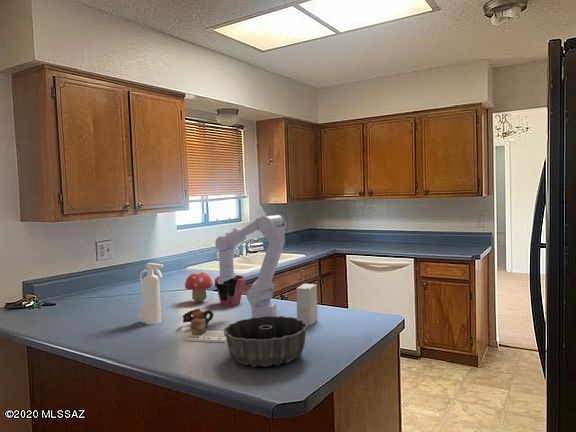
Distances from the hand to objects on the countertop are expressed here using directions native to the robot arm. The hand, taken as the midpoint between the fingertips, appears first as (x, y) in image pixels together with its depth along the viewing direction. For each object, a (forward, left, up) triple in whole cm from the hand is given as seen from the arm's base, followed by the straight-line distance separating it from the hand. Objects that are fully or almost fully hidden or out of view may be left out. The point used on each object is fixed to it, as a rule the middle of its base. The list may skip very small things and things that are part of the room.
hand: (227, 298), depth 184 cm
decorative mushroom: (+27, -29, -10) cm, 41 cm away
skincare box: (-33, -1, -10) cm, 34 cm away
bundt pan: (-28, +38, -10) cm, 48 cm away
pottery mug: (+9, +9, -10) cm, 16 cm away
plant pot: (+10, -27, -10) cm, 30 cm away
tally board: (-1, +22, -9) cm, 24 cm away
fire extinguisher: (+32, +6, -10) cm, 34 cm away
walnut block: (+4, +21, -8) cm, 22 cm away
